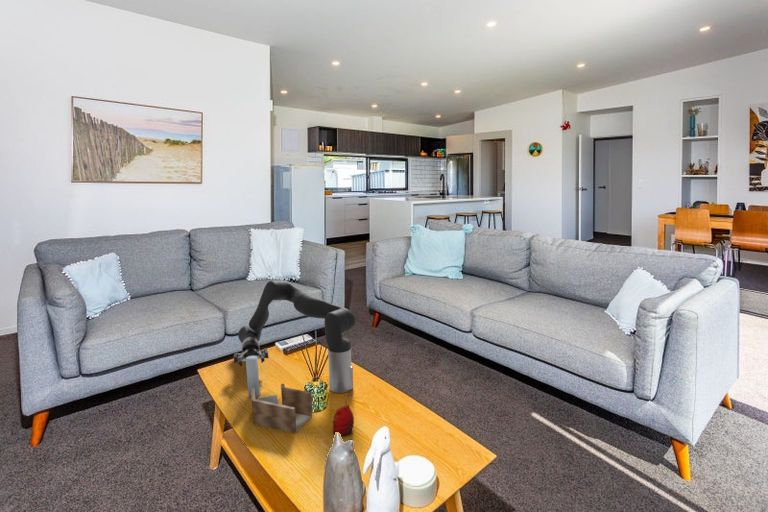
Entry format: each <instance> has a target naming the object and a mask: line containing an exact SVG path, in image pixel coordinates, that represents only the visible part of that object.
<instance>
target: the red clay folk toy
mask: <svg viewBox="0 0 768 512" xmlns="http://www.w3.org/2000/svg"><path fill="white" fill-rule="evenodd" d="M343 395H344V396H345V397H346V401H344V403H345V405H343V406H341V407H339V408H337V409H336V411H335V413H334V415H333V421H332V433H333V434H334V433H335V432H339V433H340V434H341V436H347V435H351V434H352V432H353V429H354V423H355V419H354V414H353V411H352V409H351V408H350V405H348V398H352V397H353V394H352V393H351V394H350V392H348V394H345V393H344V394H343Z"/></svg>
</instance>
